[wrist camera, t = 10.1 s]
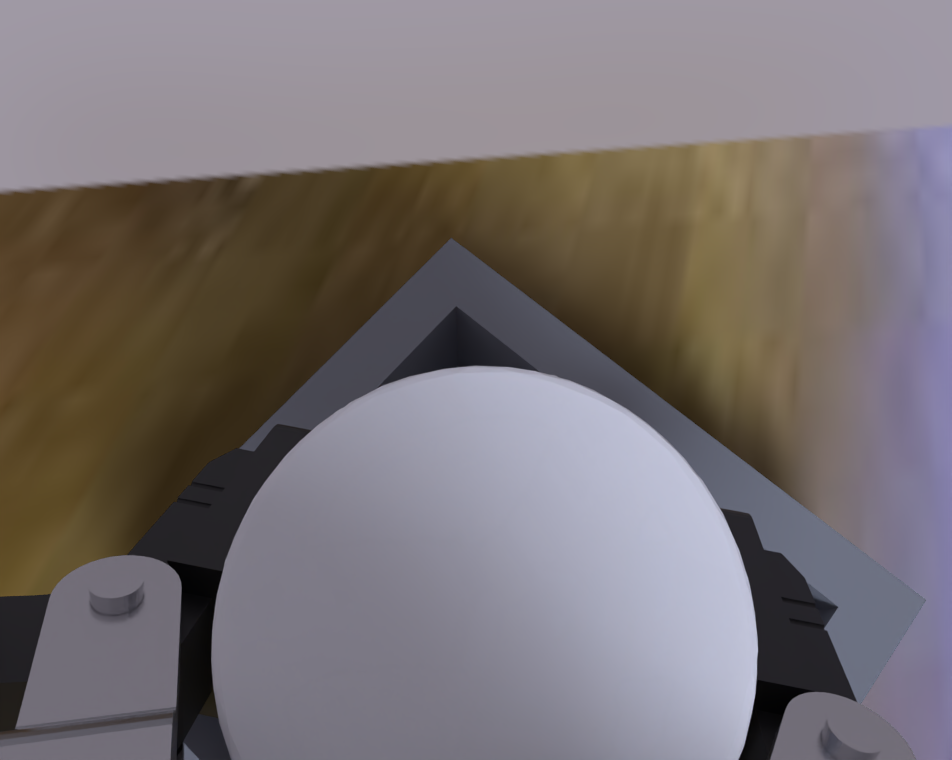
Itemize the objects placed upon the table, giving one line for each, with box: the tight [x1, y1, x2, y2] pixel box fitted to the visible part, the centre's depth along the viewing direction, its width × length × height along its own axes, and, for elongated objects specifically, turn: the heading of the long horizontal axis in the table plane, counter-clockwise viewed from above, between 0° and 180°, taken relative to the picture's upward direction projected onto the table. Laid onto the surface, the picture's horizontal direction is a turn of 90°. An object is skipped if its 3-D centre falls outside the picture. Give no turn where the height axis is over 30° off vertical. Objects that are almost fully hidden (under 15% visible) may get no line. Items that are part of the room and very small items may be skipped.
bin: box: [184, 238, 926, 760], centre depth 17 cm, size 12×12×4 cm
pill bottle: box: [211, 366, 758, 760], centre depth 11 cm, size 6×6×10 cm
